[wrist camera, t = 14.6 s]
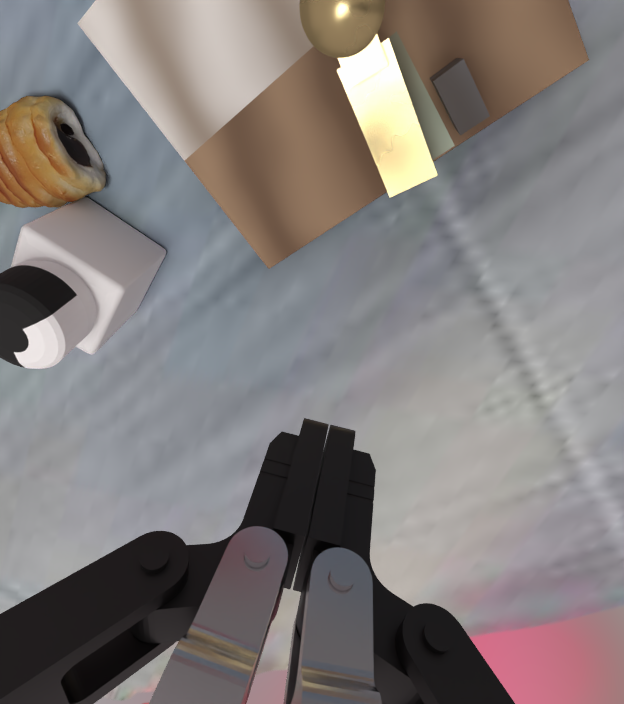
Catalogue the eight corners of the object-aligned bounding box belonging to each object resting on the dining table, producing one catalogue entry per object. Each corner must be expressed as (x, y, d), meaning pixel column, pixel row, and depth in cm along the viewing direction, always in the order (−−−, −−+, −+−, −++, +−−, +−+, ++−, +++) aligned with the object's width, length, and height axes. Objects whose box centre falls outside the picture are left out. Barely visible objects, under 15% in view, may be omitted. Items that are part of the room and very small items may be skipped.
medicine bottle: (60, 263, 37) (-59, 340, 27) (85, 193, 33) (-44, 254, 24) (137, 311, 39) (49, 400, 29) (169, 249, 35) (81, 328, 25)
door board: (419, -383, 18) (427, -513, 14) (578, 59, 24) (615, 61, 20) (93, 24, 27) (39, 20, 23) (273, 260, 34) (257, 289, 30)
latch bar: (301, -6, 23) (284, -16, 20) (368, -53, 22) (362, -73, 18) (382, 189, 28) (381, 209, 24) (442, 160, 27) (449, 178, 23)
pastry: (26, 219, 36) (-10, 236, 32) (-34, 131, 32) (-80, 139, 29) (119, 182, 33) (90, 196, 30) (64, 81, 29) (25, 84, 26)
